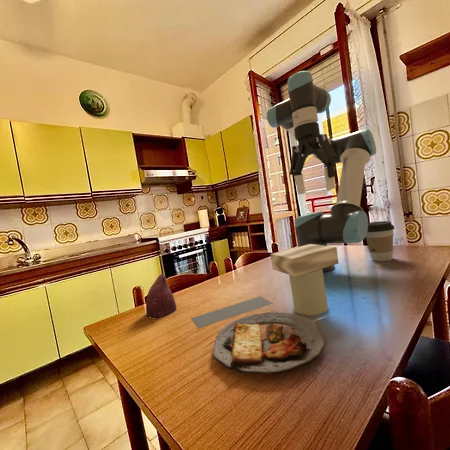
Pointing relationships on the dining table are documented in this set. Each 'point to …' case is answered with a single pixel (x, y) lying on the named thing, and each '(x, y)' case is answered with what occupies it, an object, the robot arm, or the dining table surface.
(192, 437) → the dining table surface
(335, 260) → the beige wavy block
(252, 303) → the mat
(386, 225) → the coffee cup
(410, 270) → the dining table surface
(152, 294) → the vegetable
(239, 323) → the food plate
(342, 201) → the robot arm
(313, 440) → the dining table surface
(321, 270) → the can
